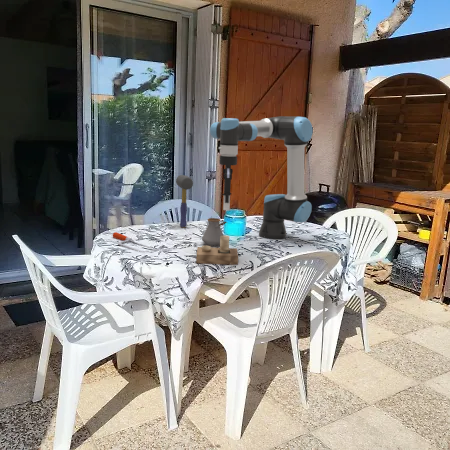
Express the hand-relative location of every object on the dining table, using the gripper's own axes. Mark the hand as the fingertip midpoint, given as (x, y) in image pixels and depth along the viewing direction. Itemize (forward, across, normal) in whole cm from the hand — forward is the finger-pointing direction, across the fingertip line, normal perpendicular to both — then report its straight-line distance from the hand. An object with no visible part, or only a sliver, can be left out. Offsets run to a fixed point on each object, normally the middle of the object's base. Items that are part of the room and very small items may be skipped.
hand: (226, 209), depth 201 cm
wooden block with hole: (+23, 0, -3) cm, 23 cm away
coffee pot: (+23, -22, -3) cm, 32 cm away
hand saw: (+23, -20, -46) cm, 55 cm away
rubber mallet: (+23, -61, -22) cm, 69 cm away
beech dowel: (+23, 0, 0) cm, 23 cm away
